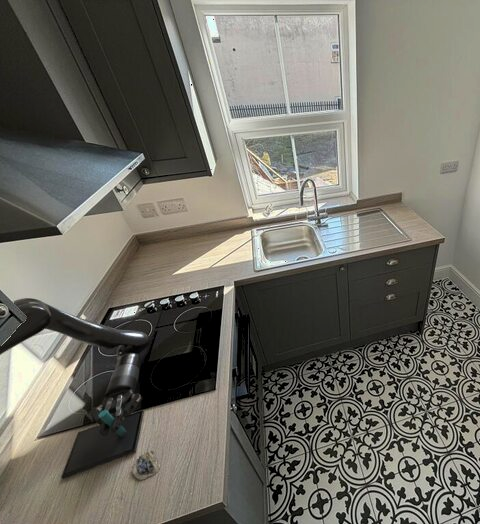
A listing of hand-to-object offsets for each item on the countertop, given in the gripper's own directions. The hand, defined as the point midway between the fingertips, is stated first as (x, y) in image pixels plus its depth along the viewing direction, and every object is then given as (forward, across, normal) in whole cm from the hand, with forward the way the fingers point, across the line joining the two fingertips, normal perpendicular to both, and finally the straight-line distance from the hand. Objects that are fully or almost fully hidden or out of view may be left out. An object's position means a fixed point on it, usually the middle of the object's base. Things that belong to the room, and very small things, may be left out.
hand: (109, 432), depth 83 cm
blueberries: (+9, +8, +8) cm, 15 cm away
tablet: (-3, -5, +8) cm, 10 cm away
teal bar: (-3, 0, +7) cm, 8 cm away
